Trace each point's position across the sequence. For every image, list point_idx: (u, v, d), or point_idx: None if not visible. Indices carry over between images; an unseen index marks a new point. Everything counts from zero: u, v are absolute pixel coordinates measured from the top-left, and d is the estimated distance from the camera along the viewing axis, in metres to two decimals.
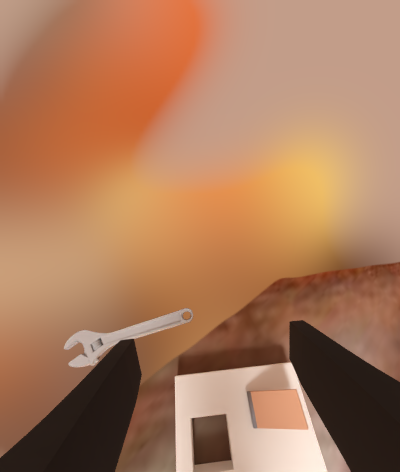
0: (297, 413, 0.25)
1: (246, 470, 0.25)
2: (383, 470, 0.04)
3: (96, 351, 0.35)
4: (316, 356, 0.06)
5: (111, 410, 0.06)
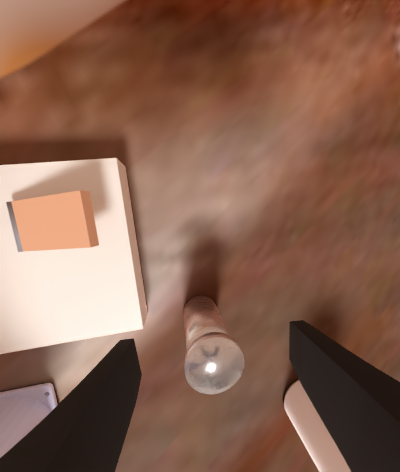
0: (78, 226, 0.13)
1: (10, 297, 0.16)
2: (383, 470, 0.04)
3: None
4: (316, 356, 0.06)
5: (111, 410, 0.06)
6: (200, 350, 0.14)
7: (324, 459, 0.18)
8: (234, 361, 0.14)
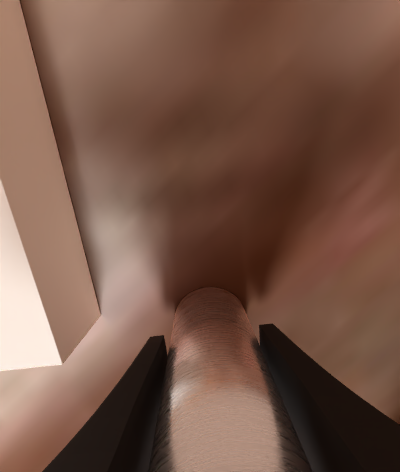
0: None
1: None
2: None
3: None
4: (277, 360, 0.06)
5: (151, 406, 0.06)
6: None
7: None
8: None
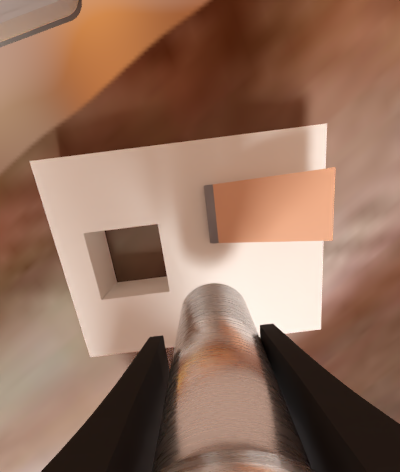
0: (318, 214, 0.10)
1: (190, 291, 0.15)
2: None
3: None
4: (278, 360, 0.06)
5: (150, 406, 0.06)
6: None
7: None
8: None
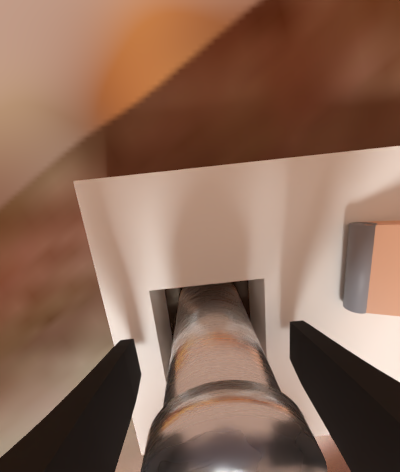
0: None
1: None
2: (383, 470, 0.04)
3: None
4: (316, 356, 0.06)
5: (111, 410, 0.06)
6: (178, 450, 0.04)
7: None
8: None
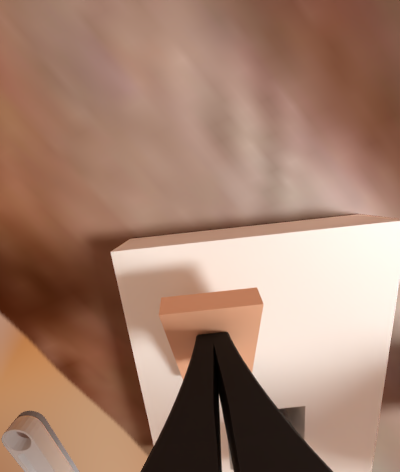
0: (223, 319, 0.07)
1: (309, 386, 0.12)
2: None
3: None
4: (217, 367, 0.06)
5: (216, 399, 0.06)
6: None
7: None
8: None
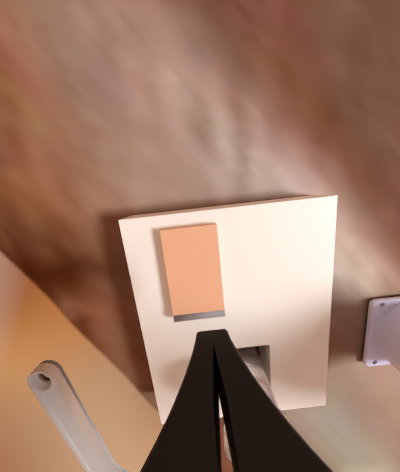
0: (195, 236, 0.13)
1: (271, 327, 0.16)
2: None
3: None
4: (217, 367, 0.06)
5: (216, 398, 0.06)
6: None
7: None
8: None
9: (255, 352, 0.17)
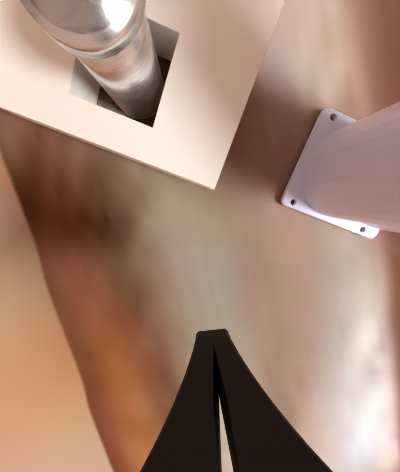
0: None
1: (192, 2, 0.11)
2: None
3: None
4: (217, 367, 0.06)
5: (215, 399, 0.06)
6: None
7: None
8: None
9: (158, 62, 0.12)
